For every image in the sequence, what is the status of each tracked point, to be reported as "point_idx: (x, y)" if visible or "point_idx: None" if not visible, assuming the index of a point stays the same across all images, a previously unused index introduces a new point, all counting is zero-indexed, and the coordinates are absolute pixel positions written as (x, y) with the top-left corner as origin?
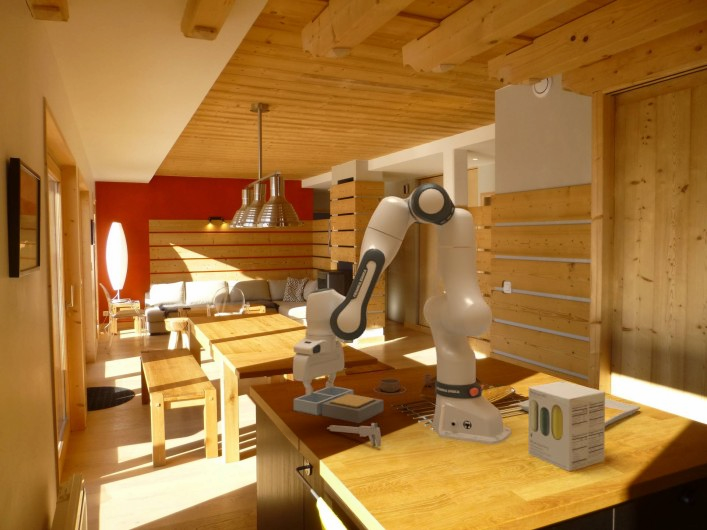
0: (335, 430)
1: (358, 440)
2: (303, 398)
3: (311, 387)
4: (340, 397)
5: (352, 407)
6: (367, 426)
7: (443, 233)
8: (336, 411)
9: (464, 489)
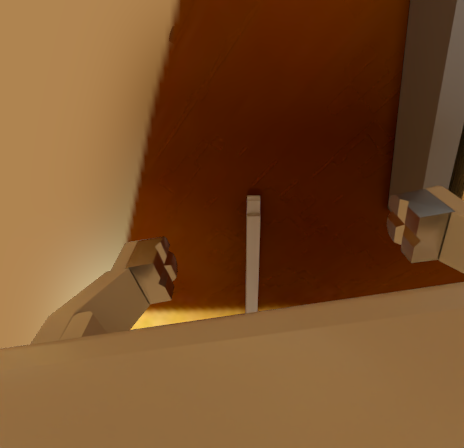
0: (246, 238)
1: (259, 292)
2: None
3: (141, 313)
4: None
5: (457, 183)
6: None
7: None
8: (420, 105)
9: None
